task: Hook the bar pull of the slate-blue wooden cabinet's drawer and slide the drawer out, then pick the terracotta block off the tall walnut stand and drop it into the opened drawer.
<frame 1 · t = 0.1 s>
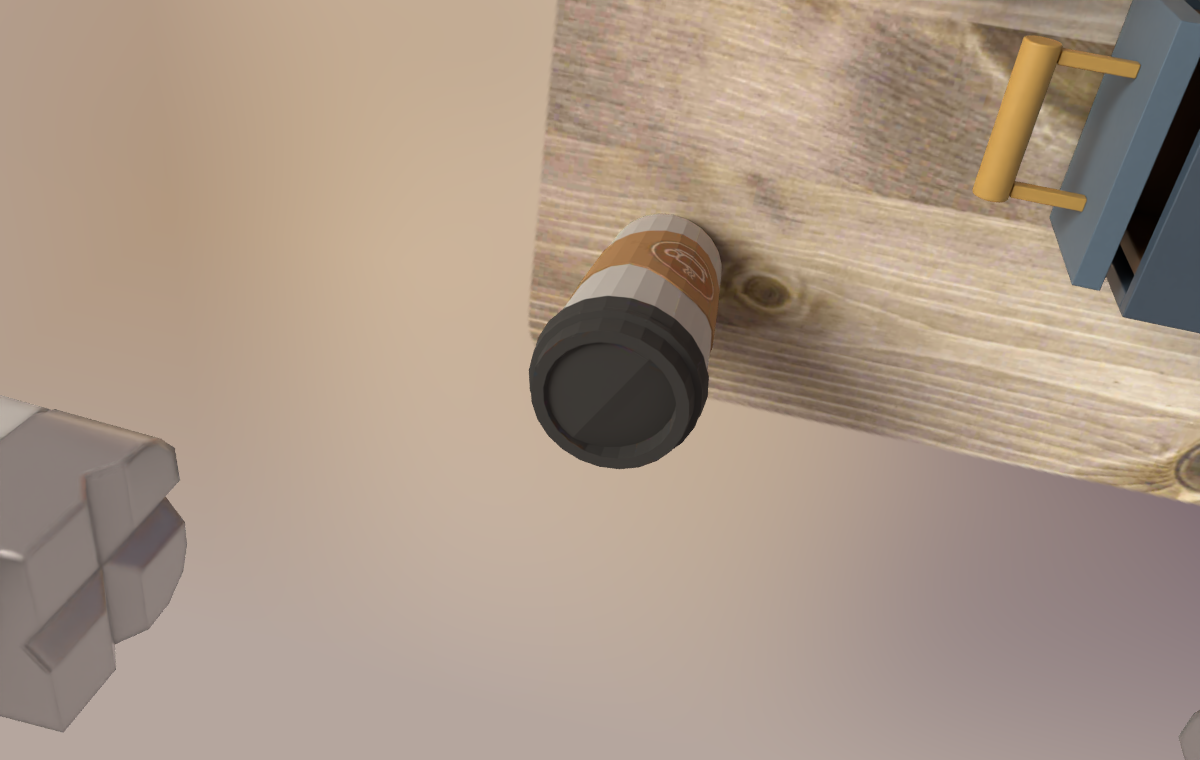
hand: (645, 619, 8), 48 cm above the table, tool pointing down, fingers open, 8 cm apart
coffee cup: (667, 261, 60), on the table
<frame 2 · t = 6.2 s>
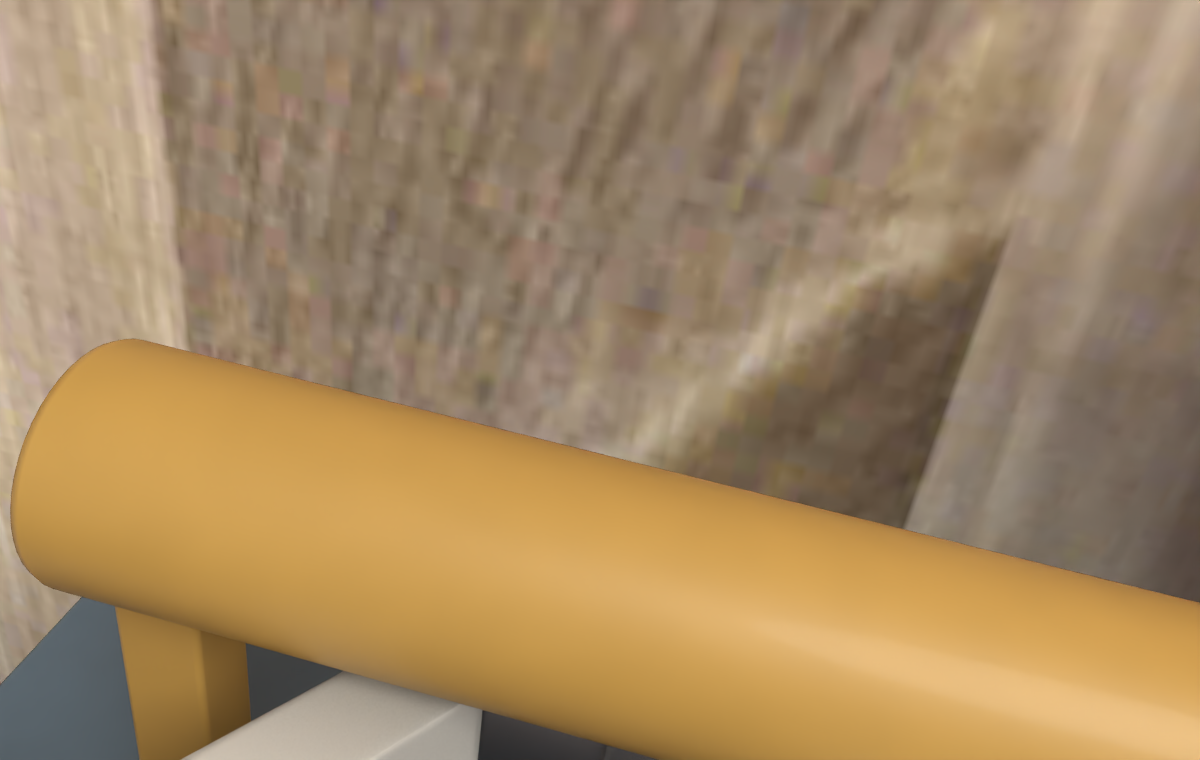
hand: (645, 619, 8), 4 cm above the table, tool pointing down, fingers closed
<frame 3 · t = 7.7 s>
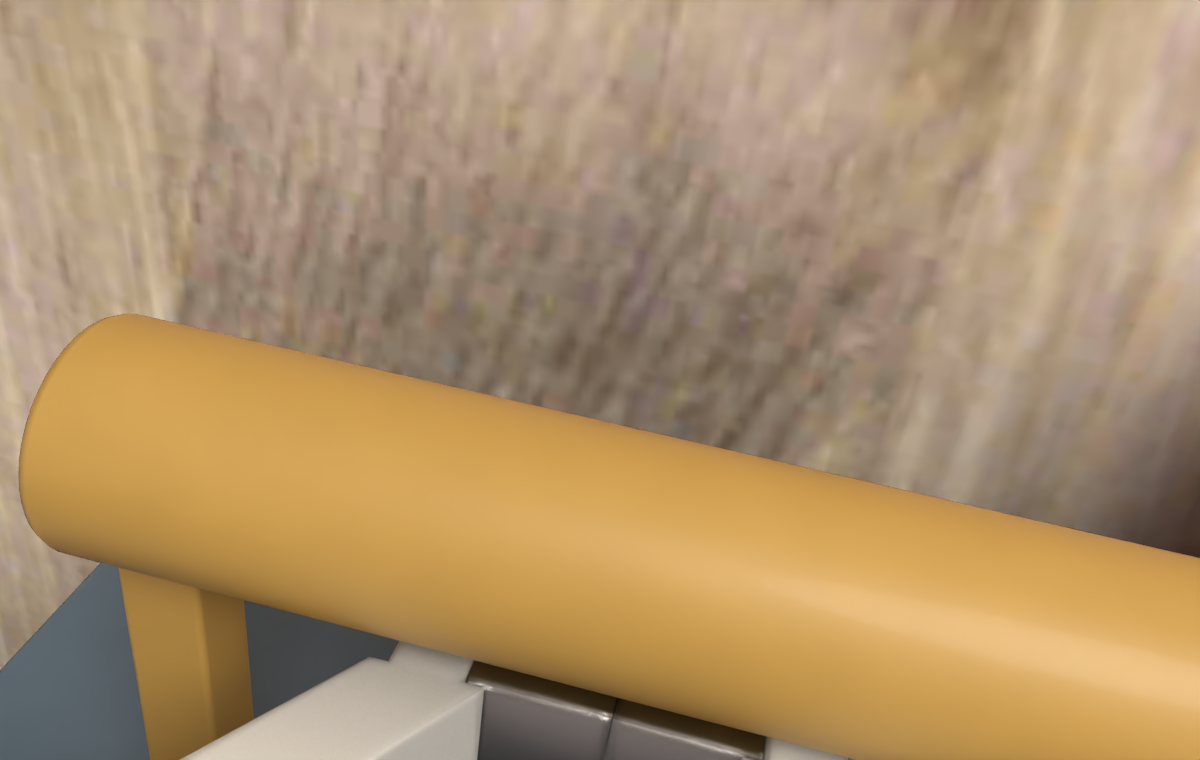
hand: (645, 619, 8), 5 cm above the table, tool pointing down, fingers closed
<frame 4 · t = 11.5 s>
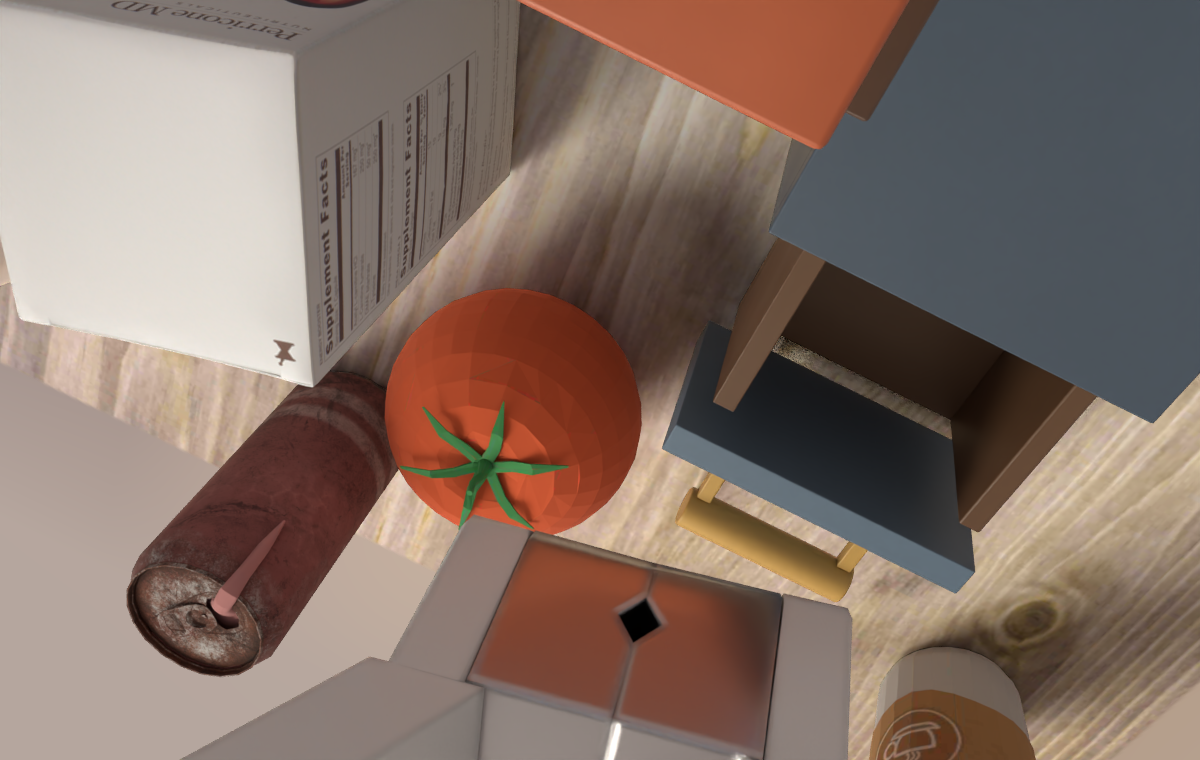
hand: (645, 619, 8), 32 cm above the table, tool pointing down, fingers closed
tomato: (547, 355, 46), on the table
drawer: (876, 372, 38), point 5 cm above the table, slide at 8.0 cm
can: (356, 417, 51), on the table
coffee cup: (947, 688, 51), on the table
cabinet: (1071, 22, 35), on the table
supplement box: (404, 42, 41), on the table
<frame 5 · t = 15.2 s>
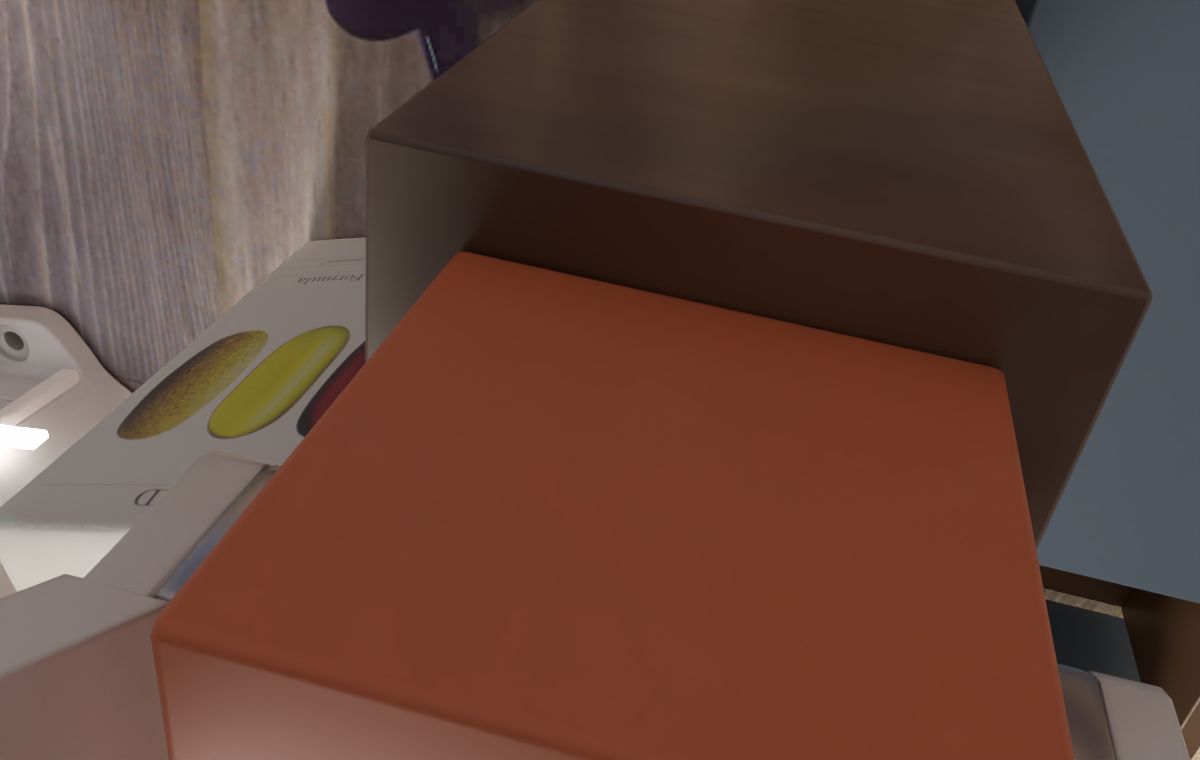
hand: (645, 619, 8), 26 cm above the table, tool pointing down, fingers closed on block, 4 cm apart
block: (677, 517, 10), point 25 cm above the table, touching gripper, stand
drawer: (1022, 592, 34), point 5 cm above the table, slide at 8.0 cm
cabinet: (1145, 182, 31), on the table
supplement box: (449, 341, 40), on the table
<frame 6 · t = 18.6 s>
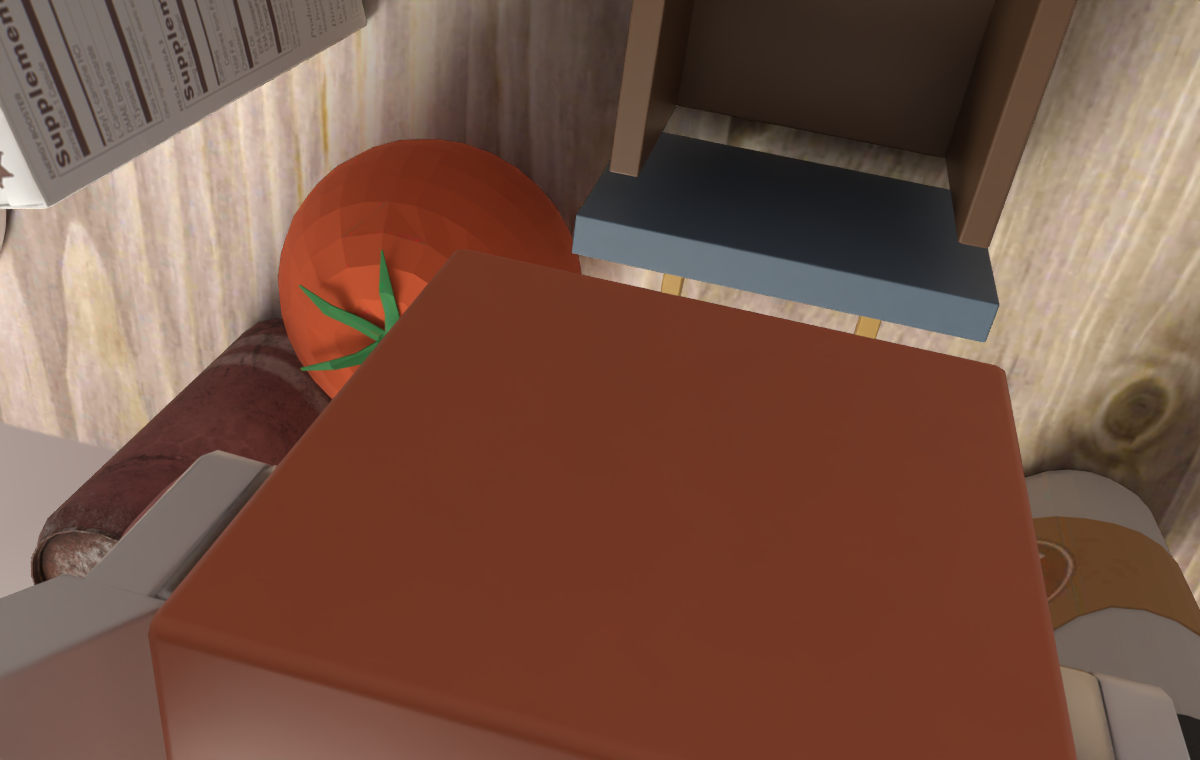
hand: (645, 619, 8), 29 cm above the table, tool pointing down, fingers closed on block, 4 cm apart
tomato: (478, 234, 40), on the table
block: (677, 515, 10), point 27 cm above the table, touching gripper
drawer: (818, 100, 30), point 5 cm above the table, slide at 8.0 cm
can: (309, 370, 45), on the table
coffee cup: (1061, 528, 41), on the table
when the fingers open (9 cm above the table, at t = 22.3 s): block drops 6 cm, resting on drawer.
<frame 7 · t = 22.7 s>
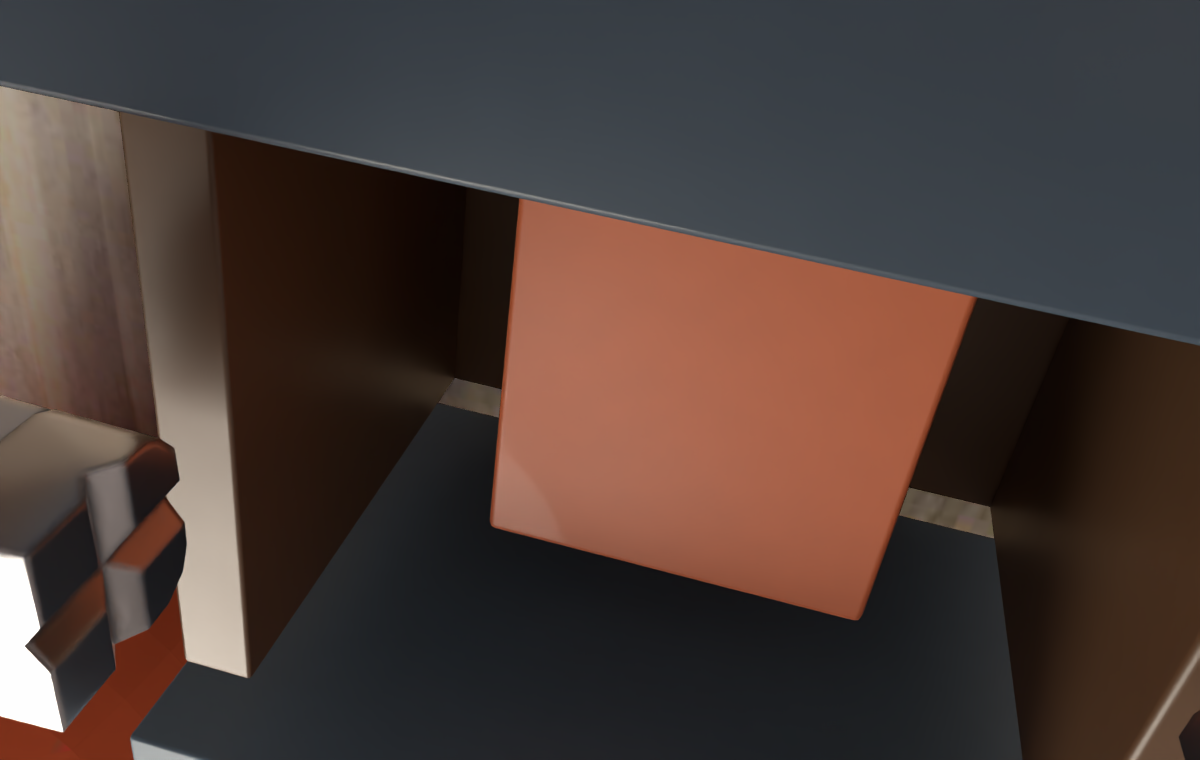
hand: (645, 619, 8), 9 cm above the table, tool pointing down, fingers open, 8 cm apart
tomato: (179, 523, 23), on the table
block: (750, 249, 15), point 2 cm above the table, touching drawer
drawer: (708, 447, 13), point 5 cm above the table, slide at 8.0 cm, touching block
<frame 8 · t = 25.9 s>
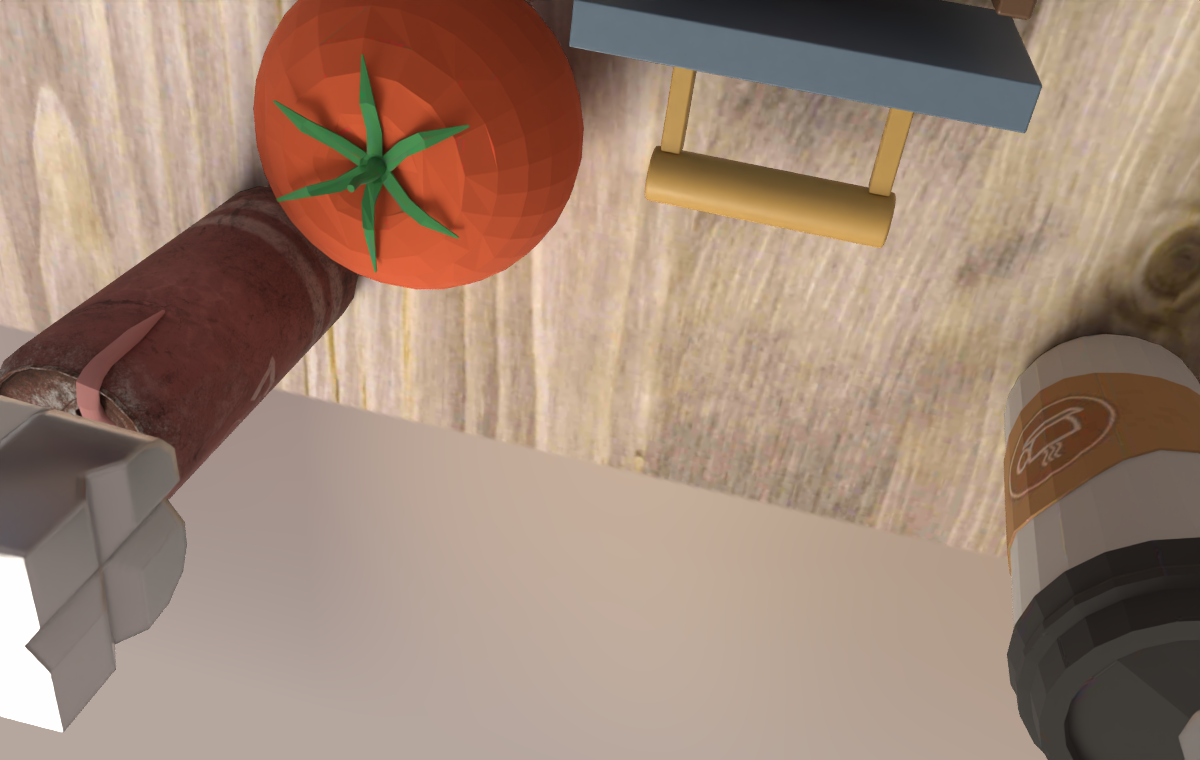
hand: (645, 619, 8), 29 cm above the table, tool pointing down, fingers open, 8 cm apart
tomato: (472, 85, 37), on the table
can: (294, 248, 43), on the table
coffee cup: (1096, 402, 38), on the table
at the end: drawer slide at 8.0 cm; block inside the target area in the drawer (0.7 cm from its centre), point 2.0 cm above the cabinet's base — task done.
